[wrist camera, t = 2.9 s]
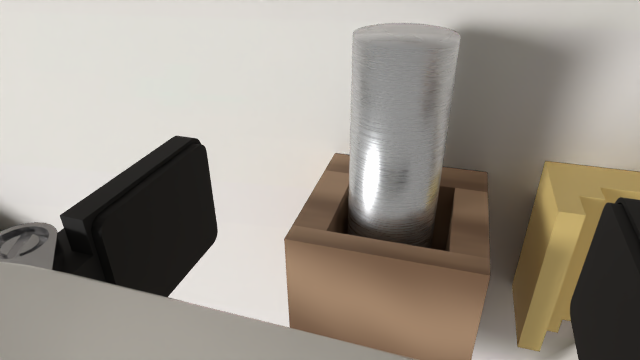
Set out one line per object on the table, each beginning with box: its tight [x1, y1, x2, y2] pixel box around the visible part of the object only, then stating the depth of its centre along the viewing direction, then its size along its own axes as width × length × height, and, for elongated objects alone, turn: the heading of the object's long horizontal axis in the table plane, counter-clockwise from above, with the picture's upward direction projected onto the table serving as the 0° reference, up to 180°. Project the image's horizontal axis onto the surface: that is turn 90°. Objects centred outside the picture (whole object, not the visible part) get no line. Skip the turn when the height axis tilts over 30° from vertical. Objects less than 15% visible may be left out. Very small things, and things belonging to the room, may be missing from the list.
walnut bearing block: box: [284, 153, 490, 360], centre depth 24 cm, size 11×8×8 cm
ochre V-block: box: [512, 161, 640, 352], centre depth 22 cm, size 8×7×4 cm
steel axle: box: [348, 23, 461, 249], centre depth 22 cm, size 18×4×4 cm, turn 1°
